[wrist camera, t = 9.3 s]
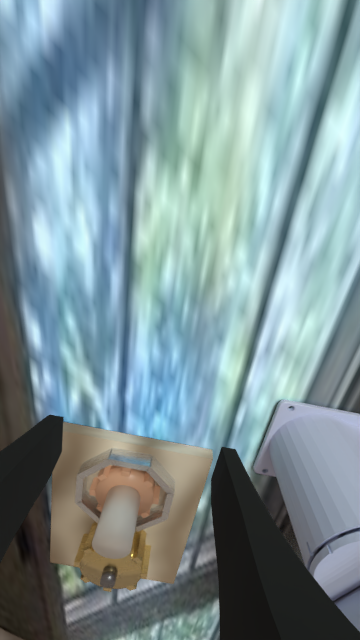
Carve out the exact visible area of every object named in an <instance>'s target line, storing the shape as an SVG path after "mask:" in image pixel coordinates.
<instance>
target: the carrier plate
mask: <svg viewBox="0 0 360 640" xmlns="http://www.w3.org/2000/svg"><path fill="white" fill-rule="evenodd" d="M110 448H112V449H113V448H118V449H124V450H129V451H135V452H140V453H145V454H151V456H154V457H155V458H156V459H157V460H158V462H159V463H160V464H161V465H162V466H163V467H164V468H165V469H166V470H167V471H168V473H169V474H170V475H171V476H172V477H173V478H174V479H175V492H174V497H173V501H172V505H171V508H170V512H169V516H168V519H167V520H165V521H163V522H161V523H158V524H156V525H153V526H151V527H148V528H146V529H143V530H144V531H145V532H146V533H147V534H146V540H145V542H146V545H151V551H150V559H149V566H148V574H147V578H146V579H149V580H154V581H160V582H166V583H171V584H173V583H174V580H175V577H176V574H177V571H178V568H179V564H180V561H181V558H182V555H183V552H184V549H185V545H186V542H187V539H188V536H189V533H190V530H191V527H192V523H193V520H194V517H195V514H196V511H197V508H198V504H199V501H200V498H201V495H202V492H203V489H204V485H205V482H206V479H207V476H208V473H209V470H210V466H211V463H212V460H213V455H212V450H211V449H206V448H200V447H195V446H190V445H184V444H179V443H174V442H168V441H163V440H158V439H152V438H147V437H142V436H136V435H131V434H125V433H120V432H115V431H109V430H104V429H99V428H93V427H88V426H83V425H77V424H72V423H67V422H63V439H62V453H61V455H60V457H59V459H58V461H57V464H56V466H55V468H54V470H53V472H52V506H51V547H50V562H52V563H57V564H63V565H69V566H74V560H75V557H76V555H77V552H78V549H79V546H80V543H81V540H82V538H83V535H84V534H89V532H90V529H91V526H92V523H95V521H94V520H93V519H92V518H91V517H90V516H89V515H88V514H87V513H85V512H84V511H83V510H82V509H81V508H80V507H79V506H78V505H77V504H75V503H76V502H75V492H76V478H77V474H78V472H79V470H80V467H81V465H82V464H83V462H85V461H87V460H89V459H91V458H93V457H95V456H97V455H99V454H101V453H103V452H105V451H106V450H108V449H110ZM111 466H112V465H111ZM99 471H100V470H99ZM99 471H97V472H95V473H93V474H91V475H89V476H88V478H87V489H86V490H87V491H88V492H89V490H90V487H91V484H92V482H93V479H94V477H96V478H97V477H98V474H99ZM154 483H155V486H160V485H159V484H158V483H157V482H156V481H155V480H154ZM165 493H166V492H165V491H164V490H163V489H162V487H160V495H159V503H158V504H152V506H151V508H154V507H156V506H158V505H161V504H163V501H164V497H165ZM94 497H95V496H94ZM95 498H96V497H95ZM151 508H150V509H151Z"/></svg>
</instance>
